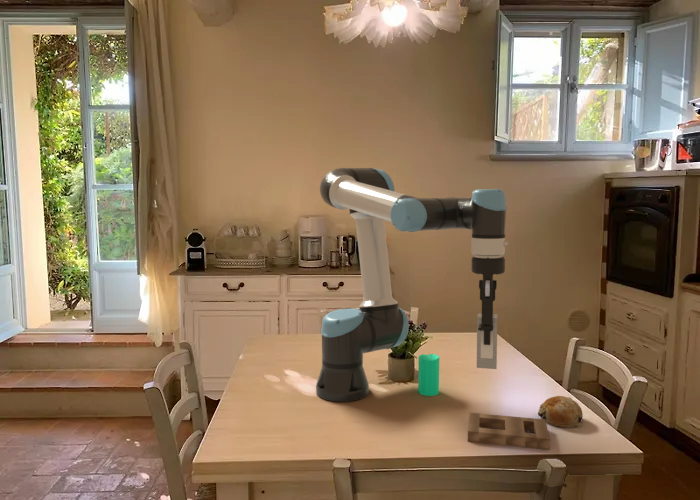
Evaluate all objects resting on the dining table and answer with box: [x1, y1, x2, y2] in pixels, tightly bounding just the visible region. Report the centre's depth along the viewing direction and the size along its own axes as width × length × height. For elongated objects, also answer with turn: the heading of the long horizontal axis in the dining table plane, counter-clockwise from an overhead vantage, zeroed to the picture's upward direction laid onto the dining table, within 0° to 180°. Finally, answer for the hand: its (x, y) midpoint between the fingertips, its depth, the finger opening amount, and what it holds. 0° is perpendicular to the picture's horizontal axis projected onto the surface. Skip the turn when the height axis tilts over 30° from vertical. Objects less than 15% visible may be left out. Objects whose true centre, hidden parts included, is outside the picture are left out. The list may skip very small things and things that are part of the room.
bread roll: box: [537, 395, 584, 429], centre depth 142 cm, size 10×10×8 cm
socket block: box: [467, 412, 551, 451], centre depth 134 cm, size 18×11×2 cm, turn 76°
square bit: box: [476, 312, 498, 370], centre depth 132 cm, size 4×4×12 cm
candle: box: [417, 353, 440, 397], centre depth 161 cm, size 6×6×12 cm
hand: (486, 354), depth 133 cm, fingers closed on square bit, 4 cm apart
